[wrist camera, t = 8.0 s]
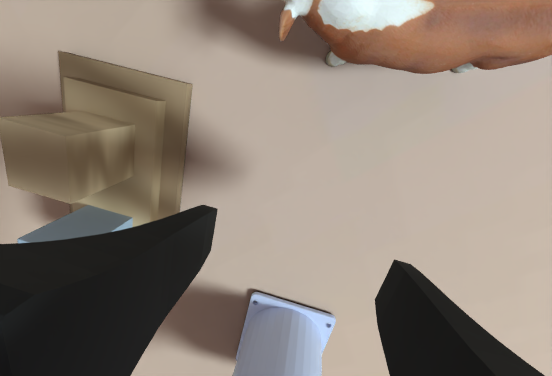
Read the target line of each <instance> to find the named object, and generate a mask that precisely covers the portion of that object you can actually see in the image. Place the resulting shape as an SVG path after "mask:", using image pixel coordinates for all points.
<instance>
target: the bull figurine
mask: <svg viewBox="0 0 552 376" xmlns="http://www.w3.org/2000/svg"><path fill="white" fill-rule="evenodd" d="M283 1H284V2H285V3H286V4H285V7H284V8H283V10H282V12H281V14H280V20H279V40H280V41H284V40H285V38H286V36H287V34H288V33H289V30H290V28H291V27H292V25H293V23H294V20H295V19H296V17H297V16H299V15H300V16H301V17H302V18H303V19H304V20H305V22H306V23H307V25H308V26H309V27H310V28H312V29H313V30H314V31H315V32H316V33H317V34H318V35H319V36H320V37H321V38H322V39H323V40H324V41H325V42H326V43H328V44H329V46H330V49H331V51H330V52H329V53H328V54H327V56H326V63H327V64H328V65H329V66H331V67H335V66H337V65H339V64H341V65H343V64H344V63H345V62H349V63H353V64H373V65H378V66H382V67H387V68H391V69H396V70H404V71H408V72H412V73H420V74H429V73H437V72H443V71H446V70H450V69H452V71H453V72H455V73H463V72H466V71H468V70H471V69H477V68H480V69H484V70H491V69H498V68H503V67H507V66H512V65H518V64H522V63H527V62H531V61H534V60H538V59H541V58H544V57H547V56H549V55H552V0H283Z"/></svg>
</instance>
